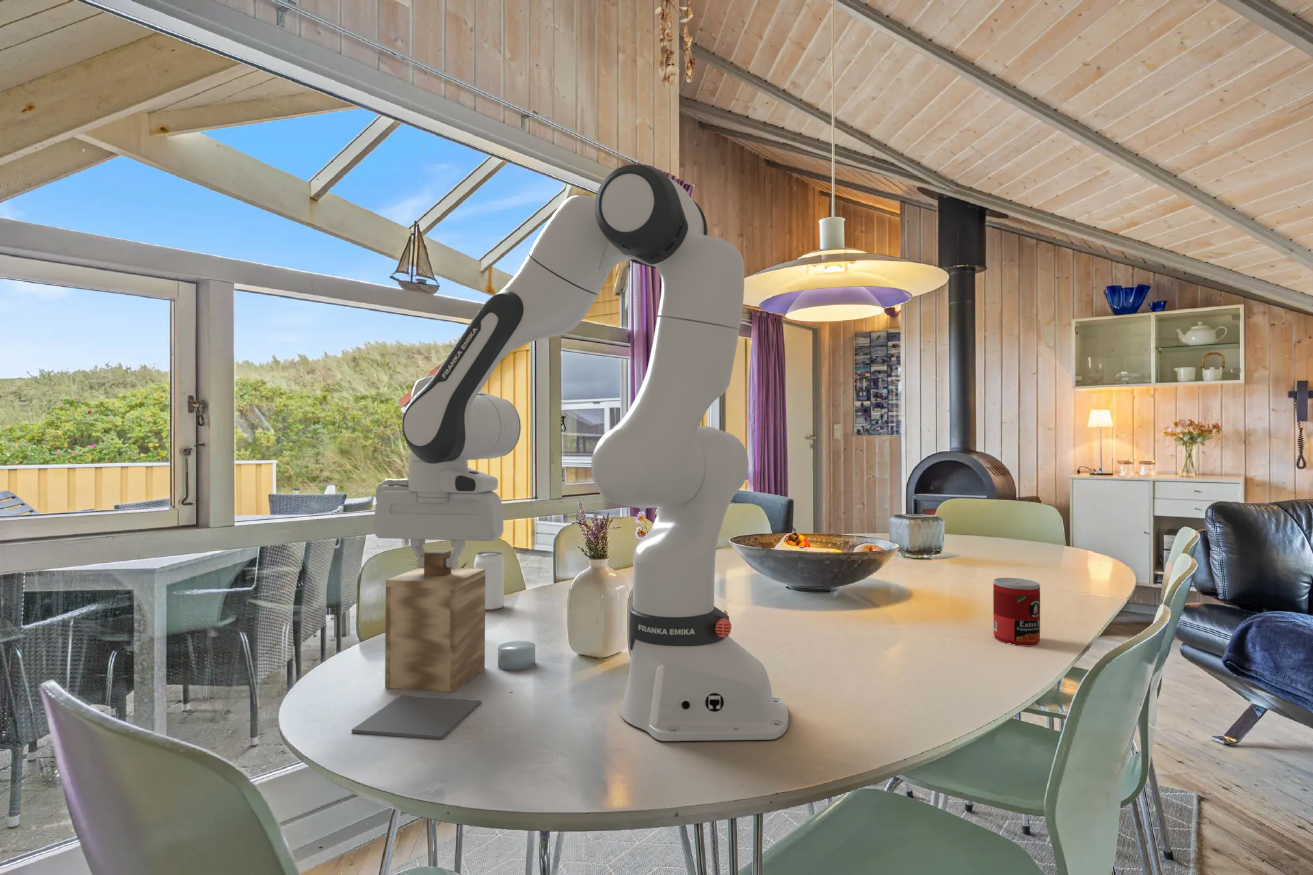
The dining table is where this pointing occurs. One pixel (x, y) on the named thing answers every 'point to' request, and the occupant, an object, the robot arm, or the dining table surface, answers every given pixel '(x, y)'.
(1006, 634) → the canned food
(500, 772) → the dining table surface
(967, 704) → the dining table surface
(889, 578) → the dining table surface
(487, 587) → the can
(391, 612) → the oak cover
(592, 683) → the dining table surface
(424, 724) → the felt mat
